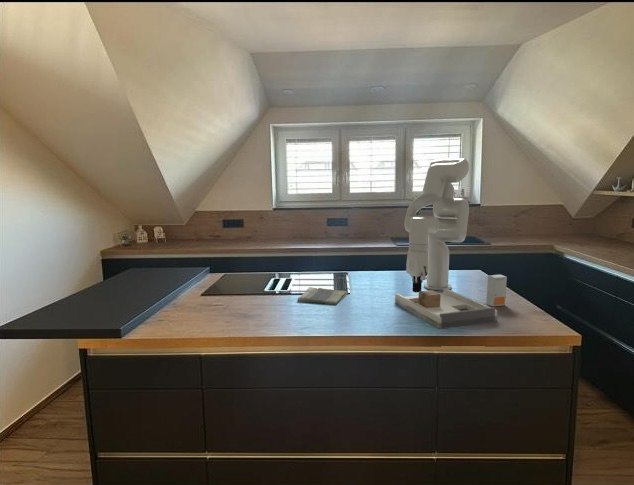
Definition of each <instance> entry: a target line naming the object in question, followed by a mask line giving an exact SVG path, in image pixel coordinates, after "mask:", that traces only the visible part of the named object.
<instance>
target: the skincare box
mask: <svg viewBox="0 0 634 485" xmlns="http://www.w3.org/2000/svg"><path fill="white" fill-rule="evenodd" d="M507 281H508V277H507V276H505V275H503V274H493V275H487V285H486V286H487V287H486V301H485V303H486V305H487V306H489V307H490V306H491V307H499V306H501V307H502V306H505V305H506V295H507Z"/></svg>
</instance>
